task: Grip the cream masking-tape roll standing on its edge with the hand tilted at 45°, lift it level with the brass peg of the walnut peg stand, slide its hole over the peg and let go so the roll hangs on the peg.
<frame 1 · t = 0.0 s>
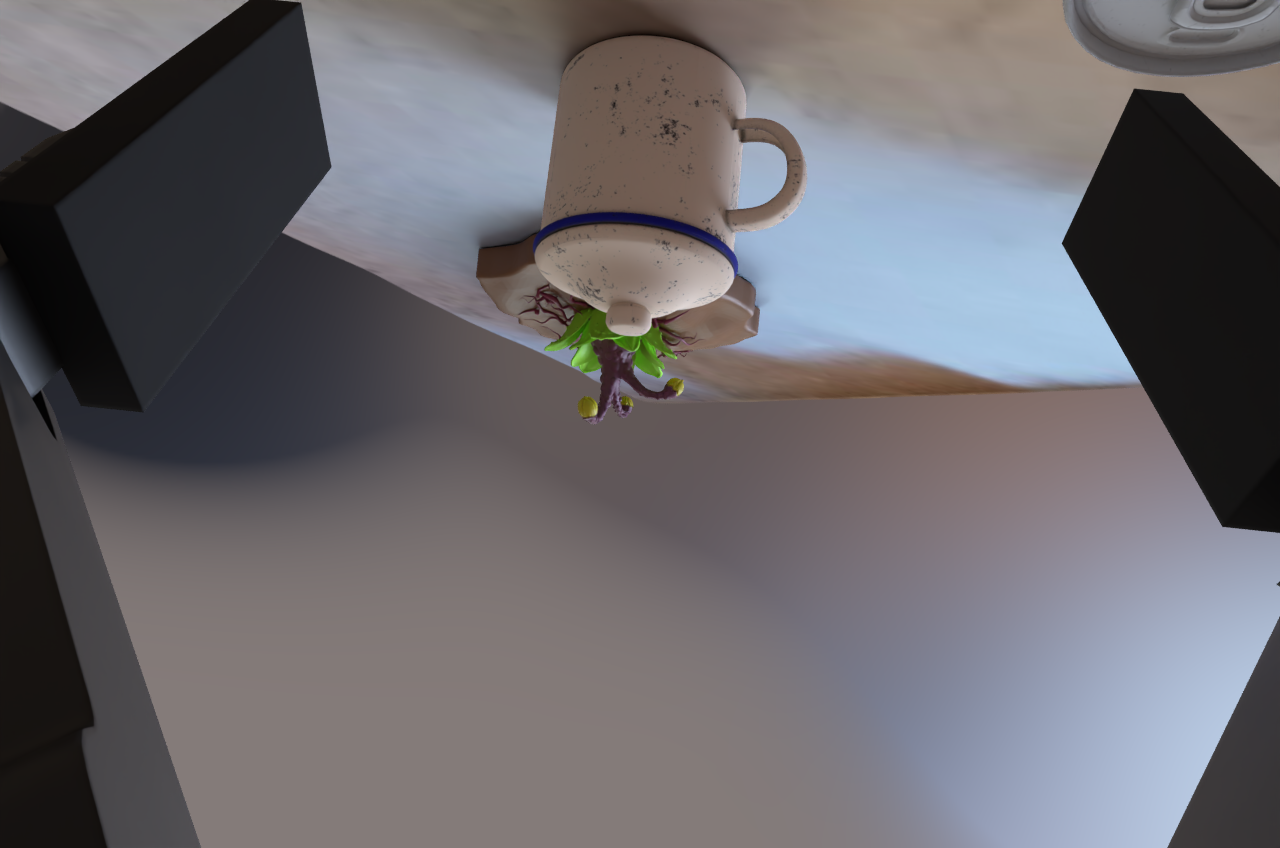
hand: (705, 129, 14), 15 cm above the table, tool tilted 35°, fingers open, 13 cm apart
plant: (621, 281, 64), on the table
teacup with lid: (683, 82, 39), on the table
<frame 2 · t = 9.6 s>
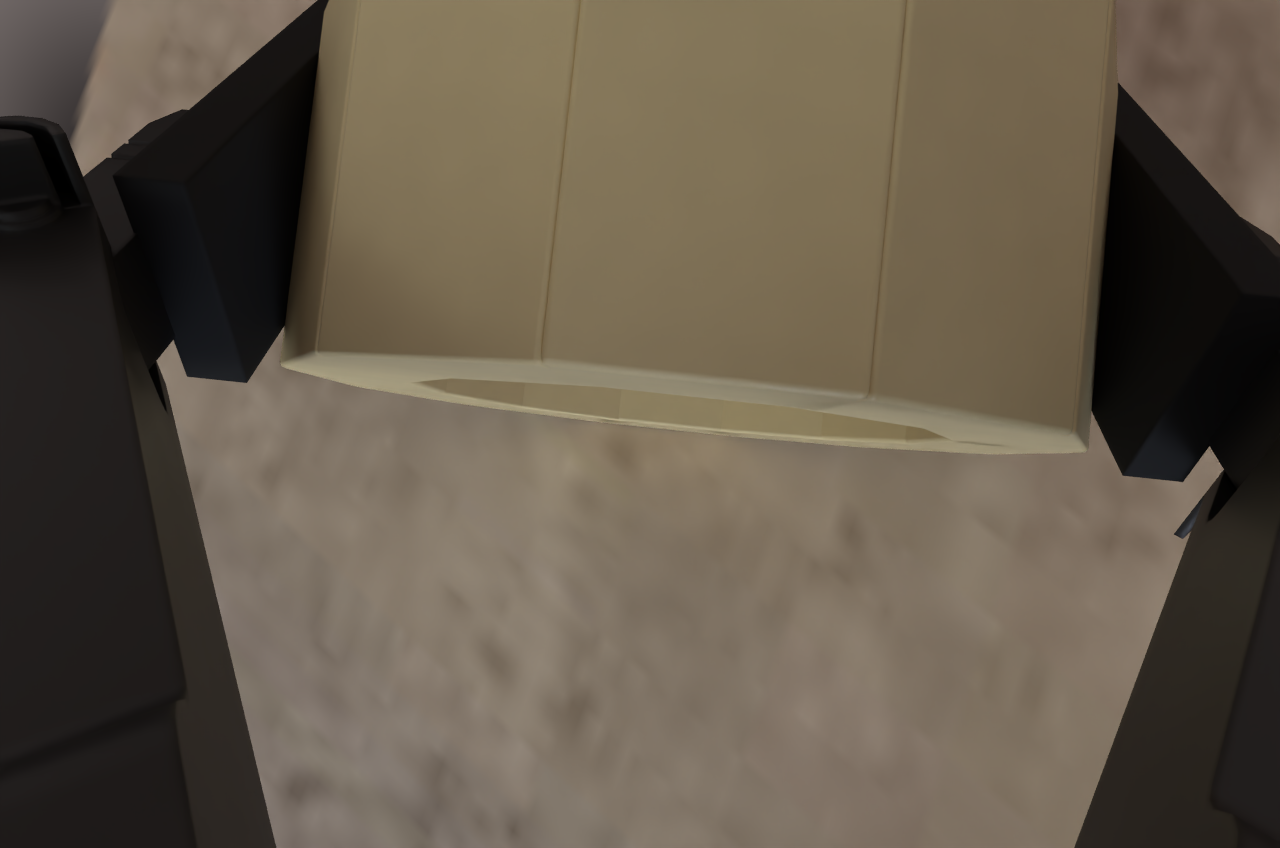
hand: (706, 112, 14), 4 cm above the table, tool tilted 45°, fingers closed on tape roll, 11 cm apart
tape roll: (694, 254, 13), point 5 cm above the table, touching gripper
when the fingers open (9 cm above the table, at t = 15.7 s): tape roll stays where it is, resting on tape stand.
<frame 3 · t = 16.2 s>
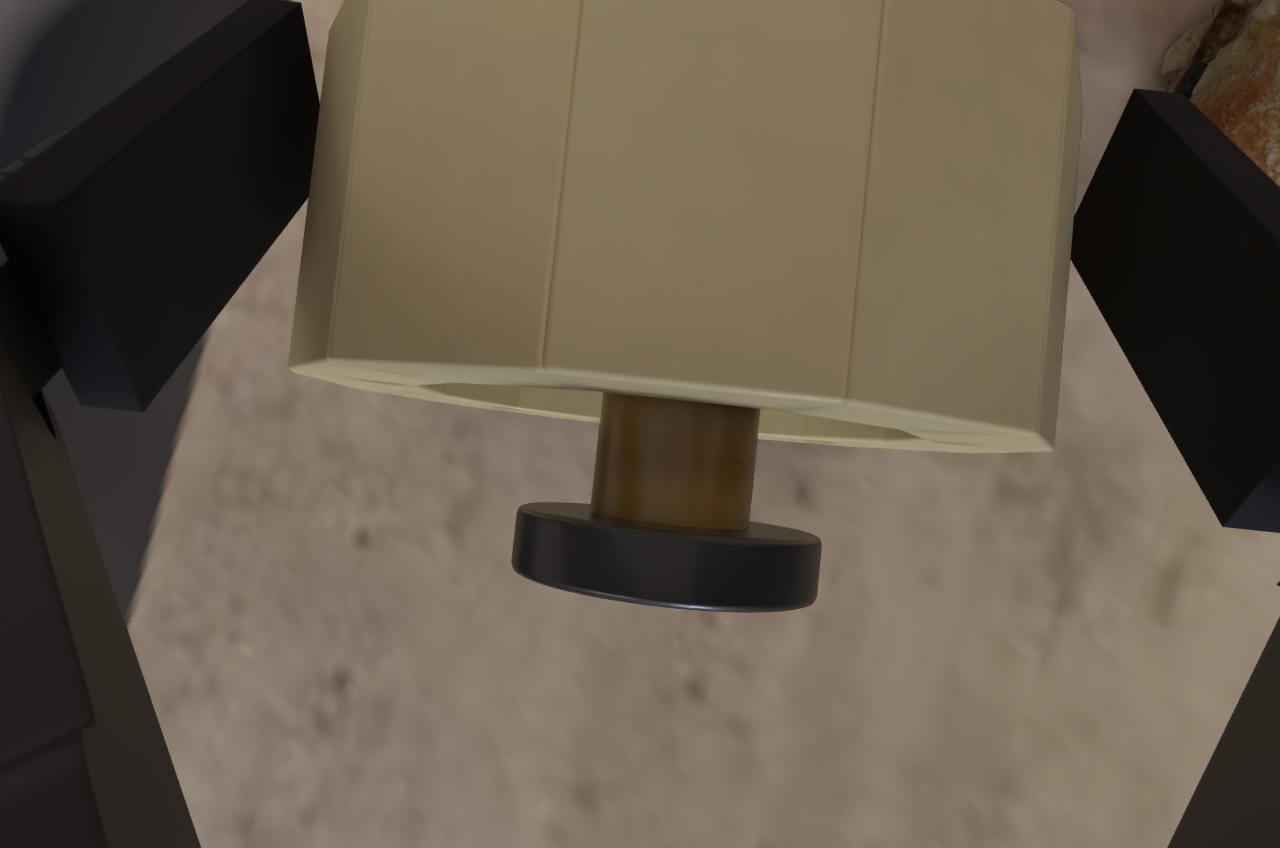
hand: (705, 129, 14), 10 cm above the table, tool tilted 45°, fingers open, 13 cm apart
tape roll: (683, 262, 14), point 10 cm above the table, touching tape stand
tape stand: (679, 226, 24), on the table
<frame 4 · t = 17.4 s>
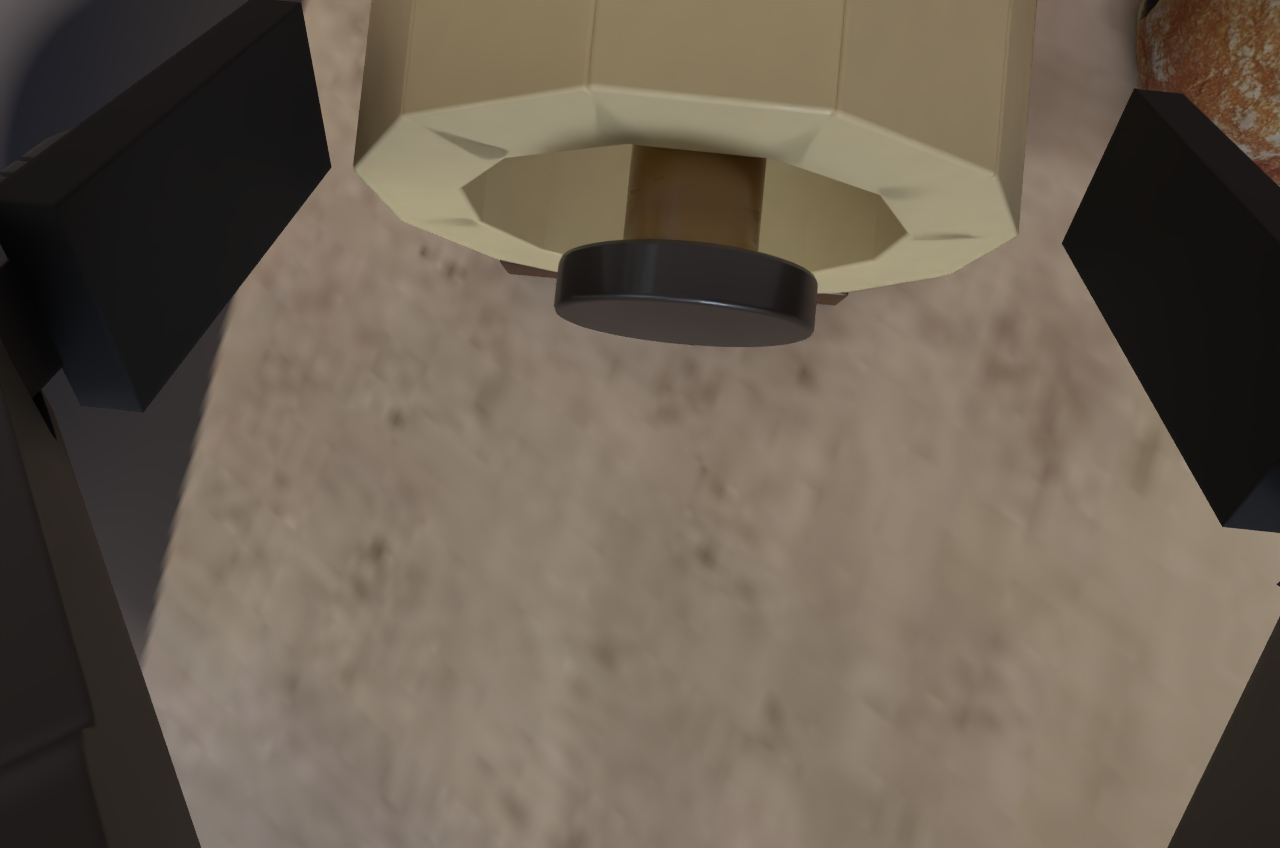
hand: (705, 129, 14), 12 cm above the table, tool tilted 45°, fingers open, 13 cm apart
tape roll: (693, 94, 15), point 10 cm above the table, touching tape stand
tape stand: (687, 127, 26), on the table
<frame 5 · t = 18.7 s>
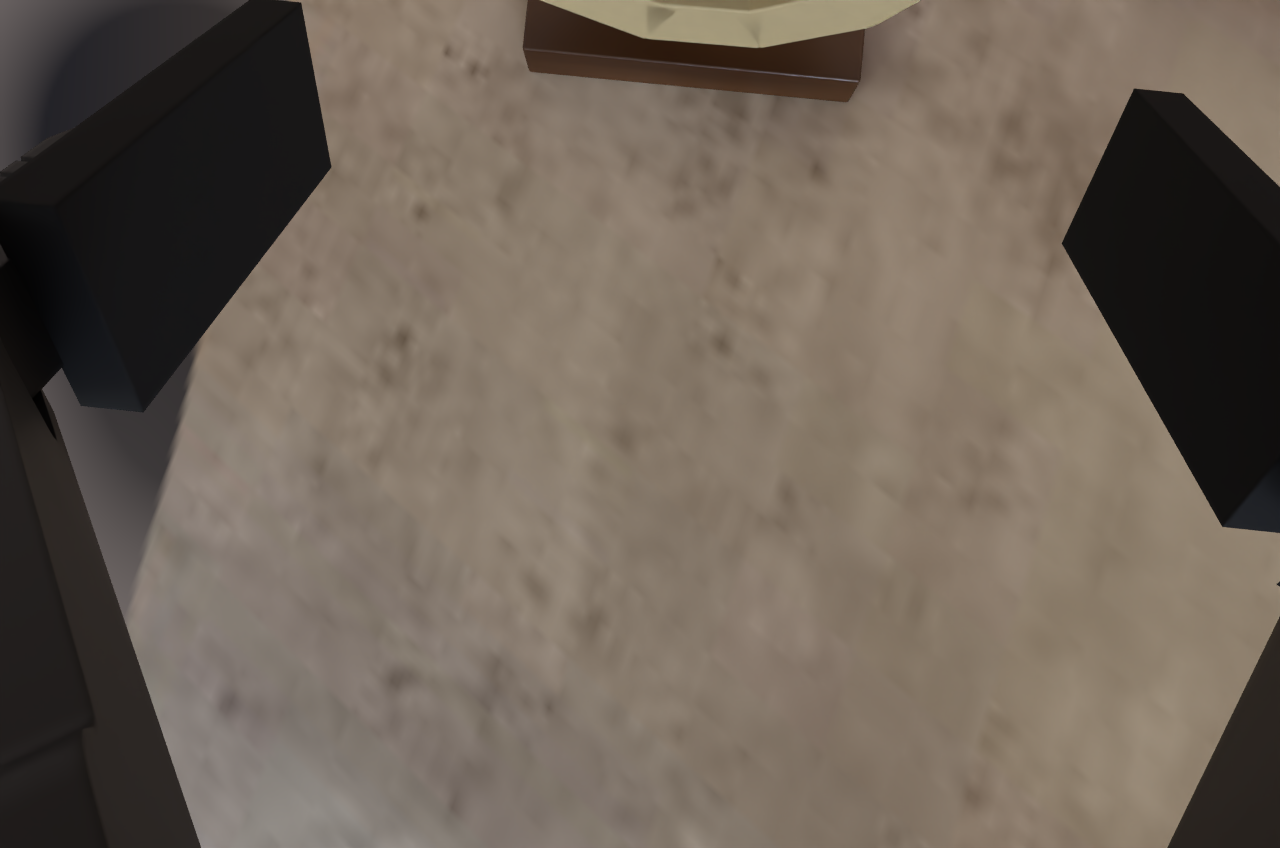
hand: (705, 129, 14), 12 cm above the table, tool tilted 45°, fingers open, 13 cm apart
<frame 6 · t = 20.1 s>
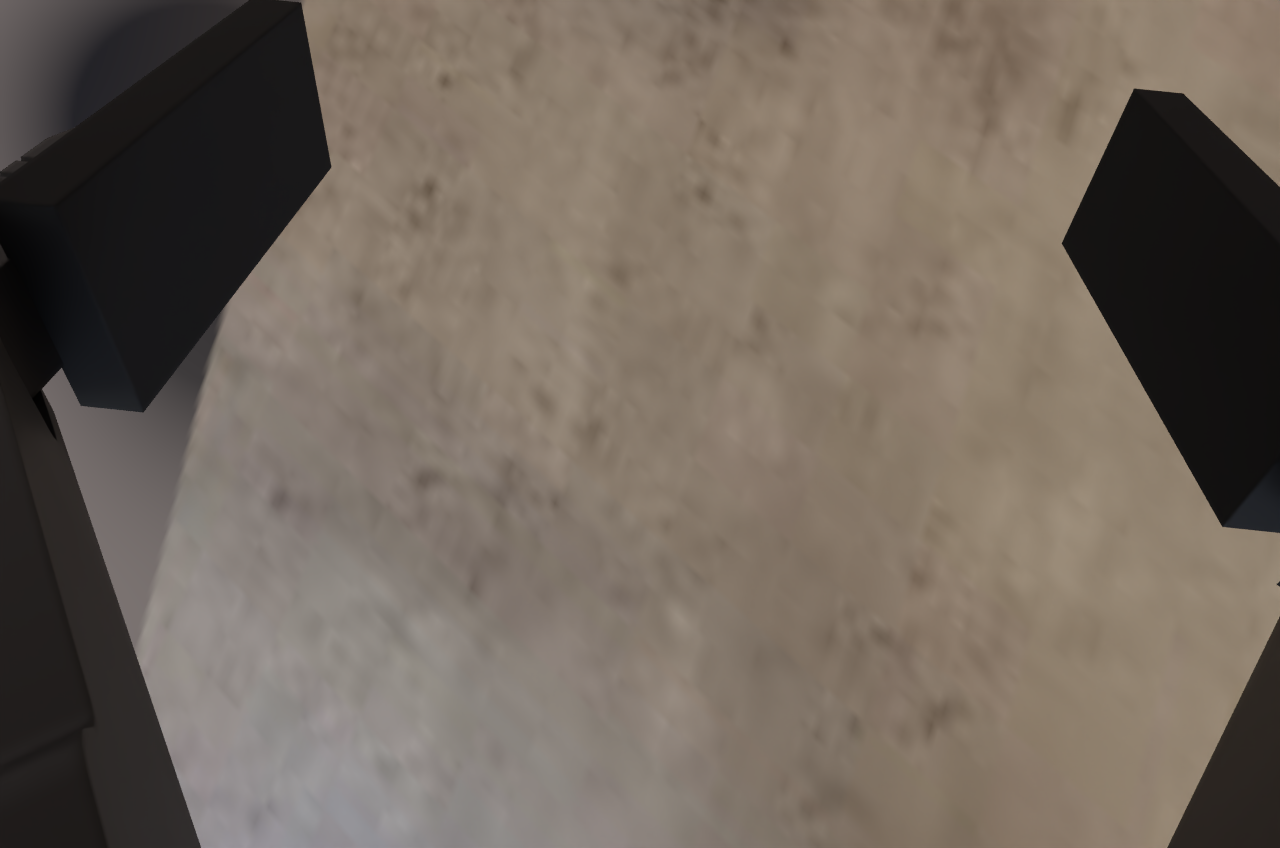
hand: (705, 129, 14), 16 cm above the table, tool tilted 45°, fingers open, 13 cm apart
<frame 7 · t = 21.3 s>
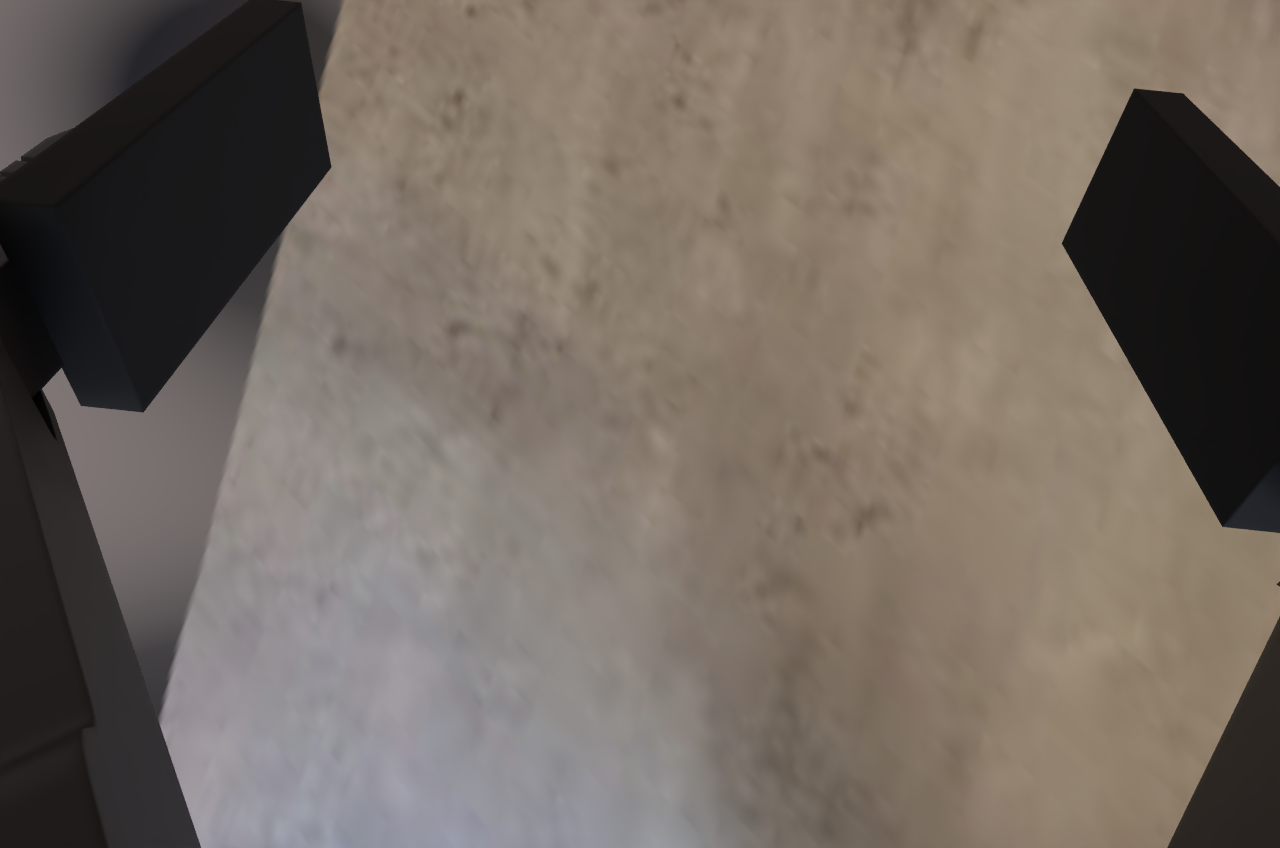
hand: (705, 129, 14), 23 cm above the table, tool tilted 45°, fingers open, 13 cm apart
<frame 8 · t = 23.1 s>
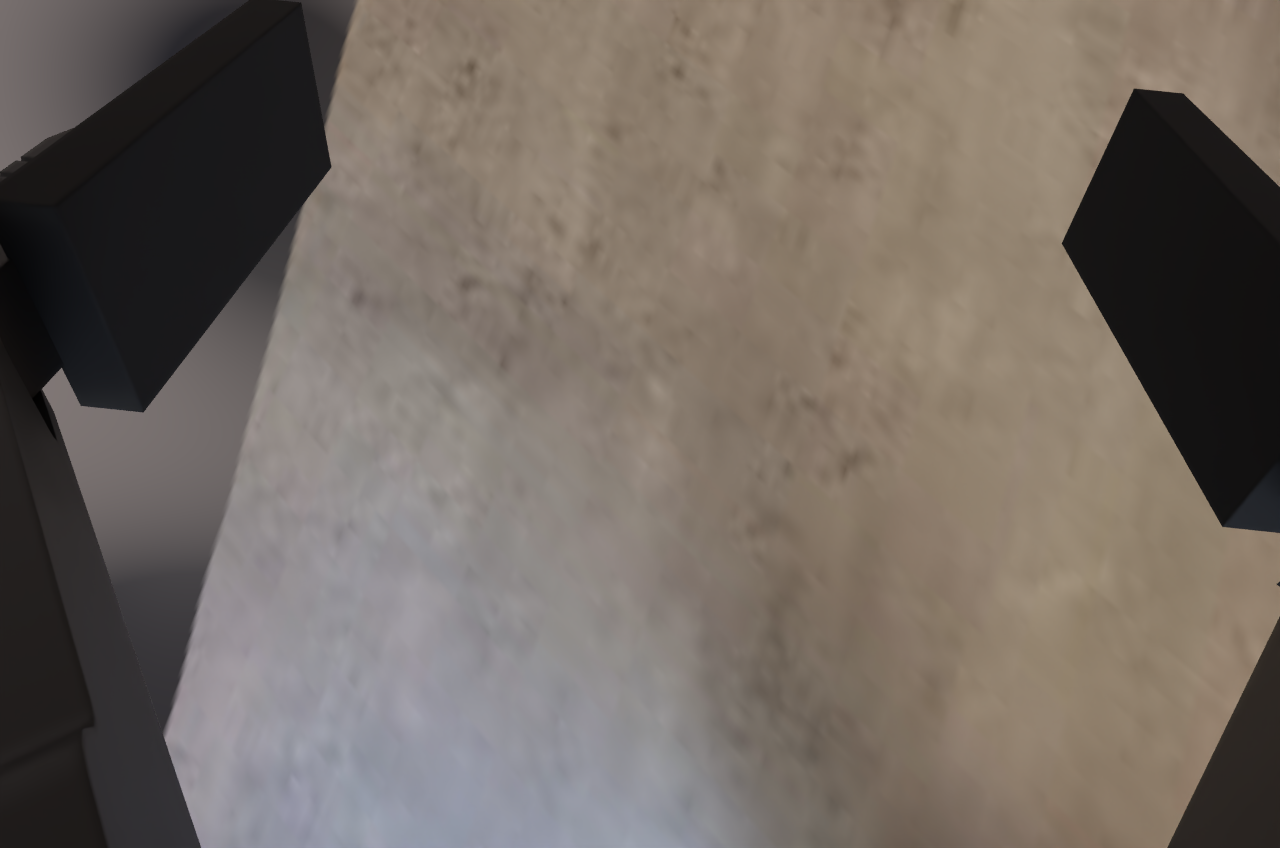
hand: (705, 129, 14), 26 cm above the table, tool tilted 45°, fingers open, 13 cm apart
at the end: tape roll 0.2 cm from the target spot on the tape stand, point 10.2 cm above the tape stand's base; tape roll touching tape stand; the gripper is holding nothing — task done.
